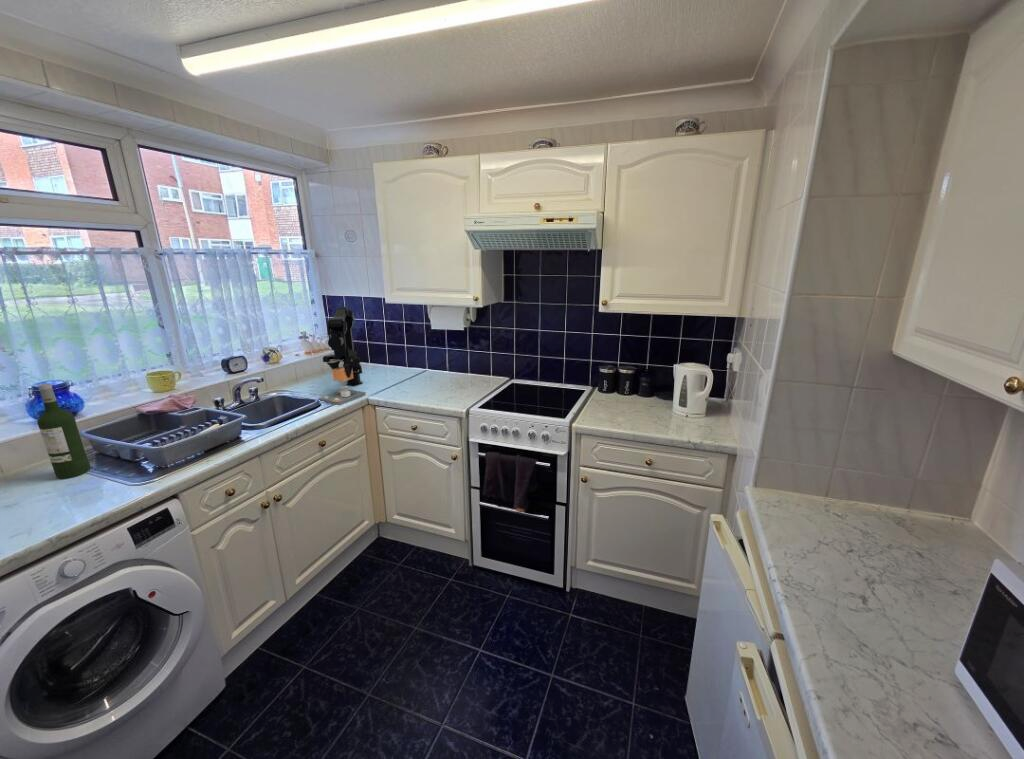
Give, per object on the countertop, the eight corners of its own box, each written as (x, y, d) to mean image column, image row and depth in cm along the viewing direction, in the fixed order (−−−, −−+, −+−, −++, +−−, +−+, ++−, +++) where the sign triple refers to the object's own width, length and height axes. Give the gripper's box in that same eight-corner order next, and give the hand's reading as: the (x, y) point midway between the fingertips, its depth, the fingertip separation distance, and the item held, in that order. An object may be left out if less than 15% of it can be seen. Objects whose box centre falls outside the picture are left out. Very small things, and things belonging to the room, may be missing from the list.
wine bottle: (49, 480, 130) (16, 389, 122) (69, 468, 137) (40, 382, 129) (78, 477, 131) (48, 387, 123) (97, 466, 139) (70, 380, 131)
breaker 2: (345, 394, 205) (345, 390, 204) (350, 395, 204) (349, 390, 203) (341, 396, 202) (340, 391, 202) (345, 397, 201) (345, 392, 201)
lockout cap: (343, 377, 205) (341, 366, 204) (353, 378, 203) (352, 367, 201) (333, 380, 199) (332, 369, 198) (344, 381, 197) (342, 370, 196)
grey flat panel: (344, 391, 216) (344, 387, 215) (365, 394, 211) (365, 390, 210) (318, 401, 201) (317, 396, 201) (340, 405, 196) (339, 400, 195)
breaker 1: (343, 390, 212) (343, 386, 211) (348, 391, 211) (347, 386, 210) (339, 392, 209) (338, 387, 209) (343, 392, 208) (343, 388, 208)
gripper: (366, 343, 200) (370, 374, 204) (337, 341, 207) (341, 371, 212) (349, 347, 190) (353, 380, 194) (319, 345, 198) (324, 376, 202)
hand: (343, 376), depth 201 cm, fingers closed on lockout cap, 6 cm apart
